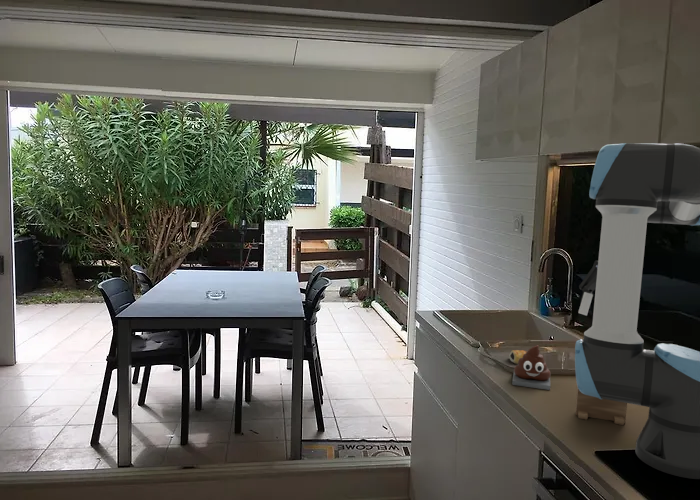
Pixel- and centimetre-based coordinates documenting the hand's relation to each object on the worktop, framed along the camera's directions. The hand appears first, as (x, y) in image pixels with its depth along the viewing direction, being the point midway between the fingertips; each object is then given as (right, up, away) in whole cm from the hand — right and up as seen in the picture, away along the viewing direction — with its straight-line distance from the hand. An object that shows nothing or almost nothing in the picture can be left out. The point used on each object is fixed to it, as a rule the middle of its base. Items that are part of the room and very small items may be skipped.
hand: (599, 318), depth 162 cm
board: (-20, -18, 0) cm, 26 cm away
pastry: (-16, -16, +18) cm, 29 cm away
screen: (-10, -21, -24) cm, 34 cm away
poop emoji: (-19, -17, 0) cm, 26 cm away
